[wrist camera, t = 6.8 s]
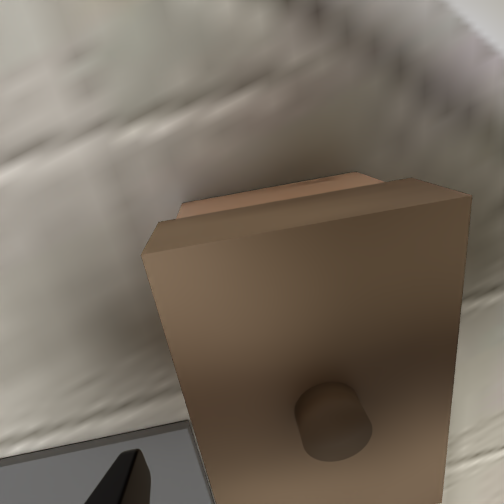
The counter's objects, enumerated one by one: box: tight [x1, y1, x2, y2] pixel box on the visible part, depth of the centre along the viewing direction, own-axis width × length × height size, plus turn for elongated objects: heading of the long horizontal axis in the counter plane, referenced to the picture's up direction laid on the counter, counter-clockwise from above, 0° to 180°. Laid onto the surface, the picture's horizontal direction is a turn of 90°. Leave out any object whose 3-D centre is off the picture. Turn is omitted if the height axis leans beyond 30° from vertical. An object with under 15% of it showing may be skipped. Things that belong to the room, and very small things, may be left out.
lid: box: [141, 178, 472, 504], centre depth 9 cm, size 10×6×3 cm
